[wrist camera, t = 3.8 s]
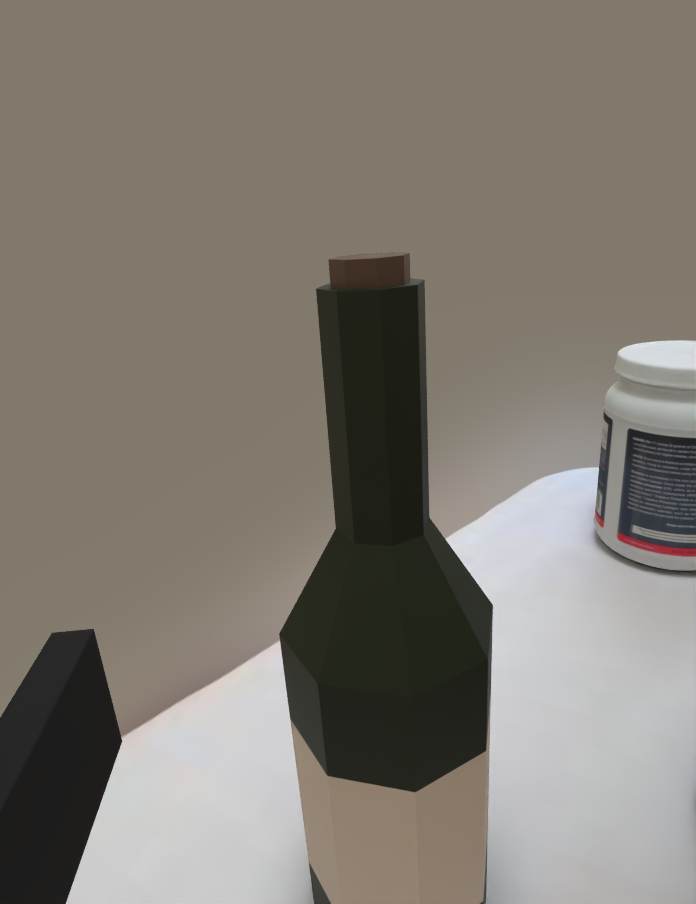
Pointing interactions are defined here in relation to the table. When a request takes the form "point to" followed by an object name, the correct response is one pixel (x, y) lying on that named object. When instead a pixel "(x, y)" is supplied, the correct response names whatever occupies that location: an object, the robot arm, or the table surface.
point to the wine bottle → (387, 627)
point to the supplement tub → (650, 456)
